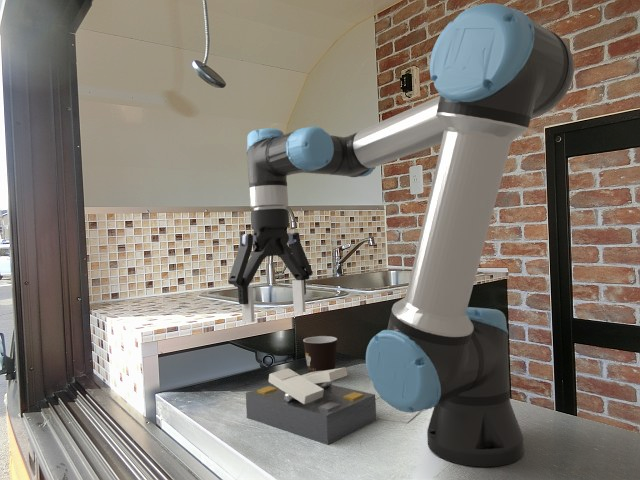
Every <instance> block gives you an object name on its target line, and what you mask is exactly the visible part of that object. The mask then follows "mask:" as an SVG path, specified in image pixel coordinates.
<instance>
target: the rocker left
mask: <svg viewBox="0 0 640 480" xmlns="http://www.w3.org/2000/svg"><path fill="white" fill-rule="evenodd" d="M268 383H269V384H270V385H271V384H273V385H275V386H276V387H278V388H279V389H281V390H282V391H284V392H285V393H287V394H289V395H290V396H292V397H293V398H295V399H296V400H298V401H300V402H301V403H303V404H306V403H309V402H312V401H314V400H317V399H319V398H322V397H323V392H324V389H322V388H321V387H319V386H317V385H316V384H314V383H312V382H311V381H309V380H307V379H305V378H304V377H302V376H301V375H300V374H298V373H297V372H296V371H293V370H292V369H290V368H288V367H287V368H284V369H281V370H278V371H275V372H272V373H269V374H268Z"/></svg>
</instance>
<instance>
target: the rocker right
mask: <svg viewBox="0 0 640 480" xmlns="http://www.w3.org/2000/svg"><path fill="white" fill-rule="evenodd" d="M300 376H302V377H304V378H305V379H307V380H309V381H311V382H312V383H314V384H315V383H322V382H329V381H331V382H333V381H336V380H338V379H341V378H343V377H346V376H348V372H347V368H346V367H340V368H335V369H332V370H326V371H316V372H310V373H308V372H307V373H304V374H301V375H300Z"/></svg>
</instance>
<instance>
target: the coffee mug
mask: <svg viewBox="0 0 640 480" xmlns="http://www.w3.org/2000/svg"><path fill="white" fill-rule="evenodd" d="M302 340H303V348H304V355H305V361H306V366H307V373H310V372H316V371H326V370H332V369H336V363H337V361H336V360H337V349H338V347H337V346H338V337H335V336H327V335H319V336H318V335H317V336H311V337H305V338H304V339H302Z"/></svg>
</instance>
